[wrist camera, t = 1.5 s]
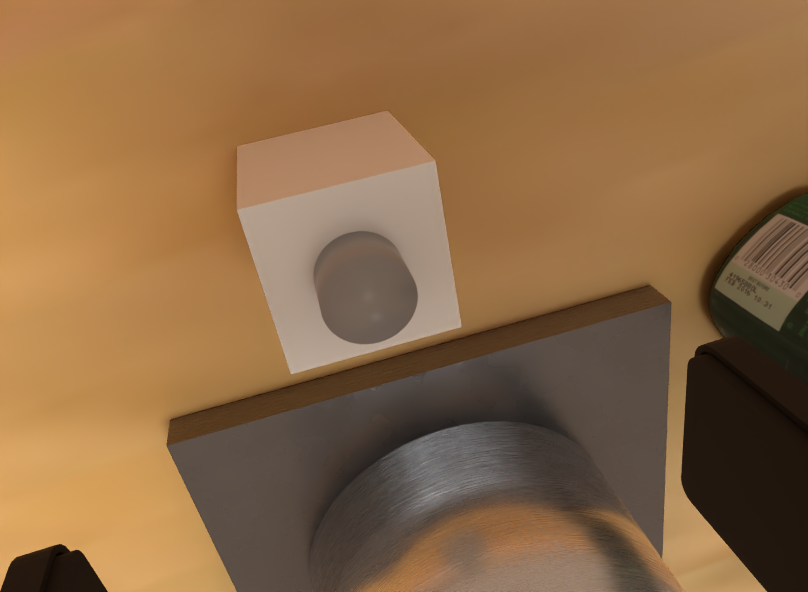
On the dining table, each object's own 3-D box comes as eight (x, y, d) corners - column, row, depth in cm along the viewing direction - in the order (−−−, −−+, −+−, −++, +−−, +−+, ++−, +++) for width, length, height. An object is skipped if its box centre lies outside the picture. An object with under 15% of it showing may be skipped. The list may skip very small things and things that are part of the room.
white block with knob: (387, 110, 21) (454, 180, 15) (413, 245, 24) (479, 357, 17) (237, 146, 21) (236, 235, 14) (279, 280, 23) (295, 409, 17)
